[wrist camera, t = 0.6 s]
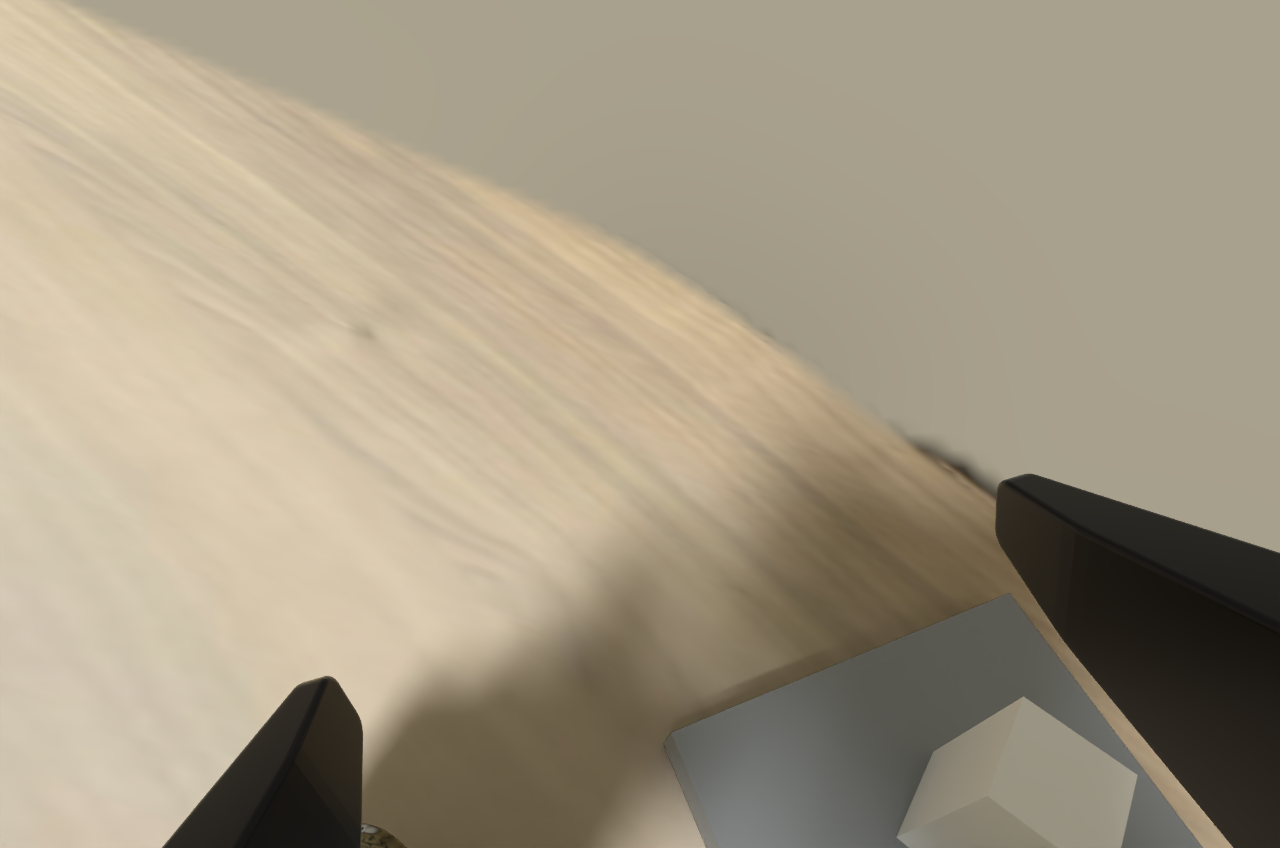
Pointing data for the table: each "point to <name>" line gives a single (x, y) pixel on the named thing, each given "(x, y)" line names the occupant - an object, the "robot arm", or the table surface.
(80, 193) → the table surface
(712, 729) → the base plate
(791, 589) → the table surface
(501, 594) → the table surface
